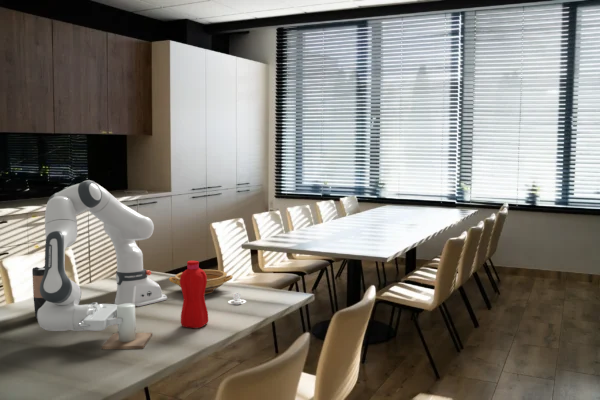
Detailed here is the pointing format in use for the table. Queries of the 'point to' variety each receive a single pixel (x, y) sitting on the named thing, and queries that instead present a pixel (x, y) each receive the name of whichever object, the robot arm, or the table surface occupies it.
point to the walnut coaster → (135, 344)
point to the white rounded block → (126, 322)
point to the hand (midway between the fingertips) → (125, 316)
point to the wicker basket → (208, 279)
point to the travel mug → (37, 288)
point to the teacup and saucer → (236, 299)
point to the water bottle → (193, 296)
